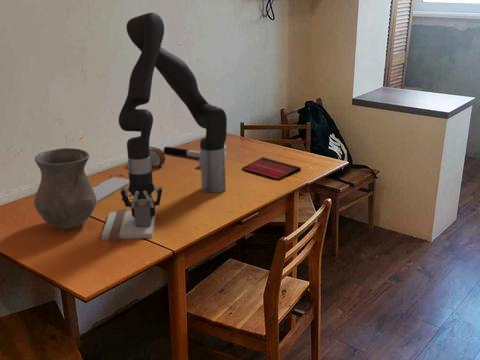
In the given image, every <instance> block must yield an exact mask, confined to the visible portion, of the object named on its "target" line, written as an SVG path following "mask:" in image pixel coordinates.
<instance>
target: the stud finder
mask: <svg viewBox="0 0 480 360" xmlns="http://www.w3.org/2000/svg"><path fill="white" fill-rule="evenodd" d="M150 207H151V206H150V203H149V202H148V201H147V199H137V201H136V203H135V204H134V215H135V226H151V222H152V218H151V209H150Z"/></svg>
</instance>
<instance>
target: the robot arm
mask: <svg viewBox="0 0 480 360" xmlns="http://www.w3.org/2000/svg"><path fill="white" fill-rule="evenodd" d="M125 27H126V32H127V35H128V38H129V39H130V41H131V42H132V43H133V44H134V46H135V47H137V49H138V50H139V51H140V52H141V53H140V55H139V57H138V59H137V61H136V63H135V65H134V66H133V67H132V70H131V73H130V77H129V82H128V92H127V96H126V99H125V101H124V103H123V106H122V107H121V110H120V113H119V115H118V125H119V127H120V129H121V130H122V131H123V132H140V135H139V136H135V137H131V138H128V140H127V142H126V149H127V171H128V179H129V185H128V187H126V188H125V187H124V188H122V189H120V195H121V197H122V198H123V200H122V201H123V203H124V206H125V207H126V208H130V211H132V216H133V217H134V218H135V215H134V204H135V203H136V201H137V199H147V201H148V202H149V203H150V206H151V207H150V209H151V218H153V216H155V210H156V207H157V206H160V203H161V198H162V194H163V187H162V186H159V187H158V186H155V185H154V182H153V169H152V168H153V166H151V159H150V150H149V146H150V141H151V140H150V139H151V133H152V129H153V123H154V116H153V114H152V112H151V111H150V110H148V109H146V108H145V109H144V108H137V107H140V106H143V105H147V104H149V102H150V99H151V91H152V84H153V83H152V82H153V77H154V72H155V69H156V70H157V71H158V73H159V74H160V75H161V76H162V77H163V79H164V80H165V81H166V83H167V84H168V86H169V87H170V88H171V89H172V90H173V92H175V94H176V96H178V98H179V99H180V101H181V102H182V103H184V105H185V106H186V108H187V110H188V111H189V112H190V114H191V116H192V118H193V119H194V121H195V122H196V124H197V125H198V126H199V127H200V128H202V129H204V130H205V137H203V138H201V140H200V141H199V147H200V148H199V149H200V151H199V152H201V166H200V177H201V180H200V181H201V190H202V191H203V192H205V193H210V194H215V193H216V194H217V193H221V192H226V166H225V164H226V163H225V162H226V161H225V159H226V158H225V156H224V145H225V142H226V140H227V131H228V130H227V127H228V126H227V123H228V122H227V121H228V120H227V119H228V118H227V114H226V111H225V110H224V109H223V108H221V107H218V106H215V105H212V104H211V103H209V102H208V101H207V100H206V99H205V97H204V96H203V95H202V94H201V92H200V90H199V86H198V83H197V78H196V76H195V75H194V72H192V70H191V68H190V67H189V66H188V65H187V63H186V62H185V61H184V60H183V59H181V58H180V57H178V56H176V55H175V54H174V53H171V52H169V50H166V49H164V47H162V43H163V39H164V35H165V24H164V21H163V19H162V17H161V16H160V15H159V14H157V12H156V13H155V12H148V13H144V14H140V15H138V16H135V17H132V18H130V19H128V21H127V23H126V26H125ZM154 192H155V194H156V195H157V196H156V200H154V199H153V195H152V194H153V193H154ZM129 193H130V194H132V195H133V198H132V201H129V200H130V199H128V197H129V195H128V194H129ZM122 198H121V199H122Z"/></svg>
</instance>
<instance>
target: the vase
mask: <svg viewBox="0 0 480 360" xmlns="http://www.w3.org/2000/svg"><path fill="white" fill-rule="evenodd" d="M89 159H90V154H89V152H87V151H86V150H83V149H81V148H80V149H79V148H71V147H66V148H65V147H64V148H63V147H62V148H57V149H51V150H46V151H43V152H40V153H38V154H37V155H36V156H35V157H34V161H35V164H36V165H37V167H38V168H39V170H40V175H41V176H40V177H41V178H40V182H39V185H38V189H37V192H36V193H35V195H34V199H33V200H34V202H33V203H34V208H35V209H36V212H37V214H38V215H39V216H40V217H41V219H42V220H43V221H44V222H46V223H47V224H48V225H50V226H51V227H55V228H57V229H59V230H64V231H65V230H66V231H67V230H73V229H75V228H78V227H80V226H82V225H83V224H84V223H85V222H86V221H87V220H89V218H90V217H91V215H92V214H93V212H94V210H95V208H96V205H97V203H96V200H97V199H96V195H95V193H94V191H93V189H92V188H93V187H92V185H91V184H90V181H89V179H88V177H87V174H86V171H85V167H86V165H87V162H88V161H89Z"/></svg>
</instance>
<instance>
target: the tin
mask: <svg viewBox="0 0 480 360" xmlns="http://www.w3.org/2000/svg"><path fill="white" fill-rule="evenodd" d="M149 150H150V159H151V166H152V167H155V168H159V167H160V166H161V167H162V166H163V165H164V164H165V162H166V156H165V153H164V151H163V150H161V149H160V148H158V147H154V146H150V145H149Z"/></svg>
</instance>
